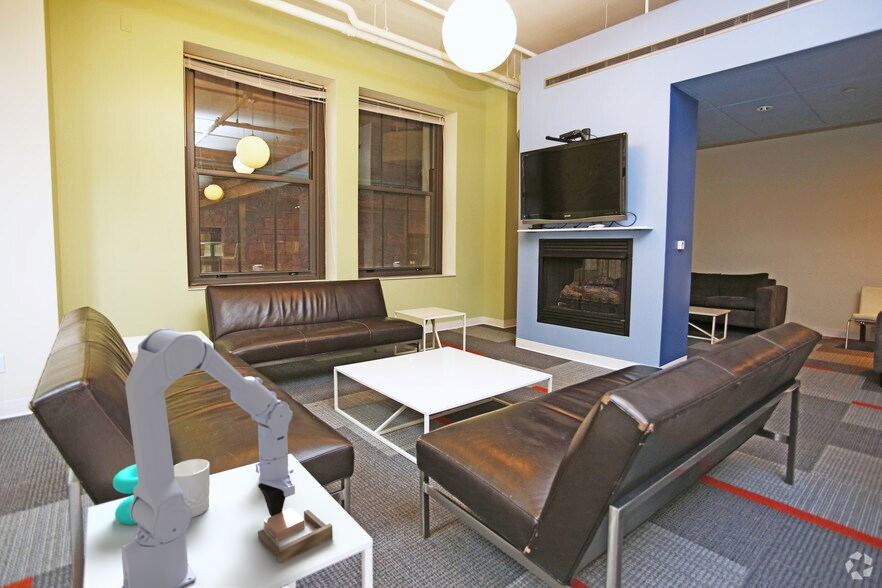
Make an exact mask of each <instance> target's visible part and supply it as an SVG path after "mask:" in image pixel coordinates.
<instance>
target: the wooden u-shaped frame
mask: <svg viewBox="0 0 882 588" xmlns="http://www.w3.org/2000/svg"><path fill="white" fill-rule="evenodd" d="M303 519H304V520H305V521H307V522H308V523H309V524H310V525H311V526H313V527H314V529H315V530H313V531H311V532H309V533H307V534H305V535H302V536H301V537H299V538H296V539H294V540H292V541H290V542H288V543H286V544H284V545H281V546H279V545H278V544H277V543H276V542H275V541H274V540H273V539H272V537H270V535H269V534H268V533H267V532H266V531H265V530H264V529H261V530H258V531H257V539H258V540H259V542H260V543H261V544H262V545H264V547H265V548H266V550H267V551H268V552H270V554H272V556H273V557H274V558H275V559H276V561H277V562H279V564H282V563H284V562H287V561H288V560H290V559H292V558H294V557H296V556H298V555H300V554H303V553H304V552H306V551H308V550H310V549H312V548H314V547H316V546H317V545H320V544H322V543H324V542H326V541H328V540H330V539H332V538H334V536H333V535H334V534H333V533H334V532H333V525H332V524H331V523H328V524H326V523H325V522H324V521H323V520H321V519H320V518H319V517H318V516H316V515H315V514H314V513H313V512H312V511H311V510H309V509H306V510H304V511H303Z"/></svg>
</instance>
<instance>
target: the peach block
mask: <svg viewBox="0 0 882 588" xmlns="http://www.w3.org/2000/svg"><path fill="white" fill-rule="evenodd" d="M305 523H306V521H305V518H304V517H302V516H301V515H299V514H298V513H297V512H296V511H295V510H294V509H292V508H287V509H285V510H284V511H283V510H282V512H281V513H279V514H276V515H274V516H272V517H271V516H270V517H268V518H265V519H263V527H264V528H265V529H266V530H267V531H268V532H269V533H270V534H271V536H272V537H274V538H275V539H276V541H277V540H280V539H282V538H284V537H286V536H288V535H290V534H293V533H295V532H297V531H299V530H301V529H303V528H305V526H306V524H305Z"/></svg>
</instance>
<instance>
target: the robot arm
mask: <svg viewBox="0 0 882 588" xmlns="http://www.w3.org/2000/svg"><path fill="white" fill-rule="evenodd" d="M194 369H196V370H199V371H204V372H205V373H207V374H208V375H210V376H211V377H212V378H214V380H217V382H219V383H220V384H222V385H223V386H225V387H226V388H227V389H228V390H230V399H231V401H232V402H234V403H235V404H236V405H237V406H239V407H240V408H241V409H243V411H245V412H247V413H248V414H249V415H250V417H251V419H252V421H253V422H256V423H257V435H258V436H257V437H258V438H257V439H258V460H259V461H258V462H257V463H255V473H257V474H258V481H259V482H260V483H258V484H257V487H258V488H259V490H260V492H261V494H262V496H263V497H264V501H265V503H266V507H267V510H268V513H269V516H270V517H272V516H274V515H276V514H279V513H281V512H283V508H284V505H285V501H286V498H288V497H291V496H293V495H295V494H296V490H295V489H296V487H295V484H294V483H293V480H292V477H291V474H292V473H294V468H293V467H292V466H289V452H288V451H289V450H288V449H289V448H288V445H289V444H288V432H289V424H290V423H291V421H292V419H293V414H294V411H292V410H291V407H290V405H289V404H288V402H286V401H283V400H281V399H278V398H277V396H278V394H277V393H276V392H275V391H271V390H269V389H268V388H267V387H266V386H264V385H263V382H264V380H263V379H261V378H260V377H257V376H256V377H254V376H243V375H242V374H241V373H240V372H239V371H238V370H237V369H235V368H234V367H233V365H232V364H230V363H229V362H228V361H227V360H226V359H225V358H224V357H223V356H222V355H221V354H220V353H219V352H218V351H217V350H216V349H215V348H214V347H213V346H212V345H210V344H209V343H207V342H205V341H203V340H202V339H201V338H200V337H199V336H197V335H195V334H192V333H184V332H179V331H176V330H174V329H172V328H171V329H170V328H168V327H165V328H164V327H163V328H159V329H155V330H153V331H152V332H151V333H149V334H148V335H147V336H146V337H145V338H144V339H143V340H142V341H141V342H139V344H138V346H137V356H136V357H135V360H134V362H133V364H132V367H131V369H130V371H129V374H128V376H127V379H126V381H125V395H126V401H127V407H128V416H129V417H128V418H129V424H130V431H131V436H132V444H133V445H132V446H133V452H134V458H135V464H136V468H137V475H138V482H139V484H138V485H137V486H136V487H134V489H133V493H132V494H133V495H134V498H133V502H132V504H131V507H130V517H131V519H132V520H133V521H134V522H136V523H137V524H136V525H138V529H137V533H136V537H135V538H134V539H133V540H131V541H130V542H128V543H126V544H124V545H123V546H121V562H122V573H123V574H122V576H123V580H122V582H123V584H122V585H123V588H181V587H184V586H185V585H188V584H190V583H192V582H195V580H197V576H196V573H194V571H193V569H192V567H191V566H190V564H189V562H188V561H189V560H188V559H189V558H188V547H187V544H188V543H187V529H188V527H189V525H190V523H191V520H192V518H191V516H192V513H191V509H190V507H189V506H188V505H187V504H186V503H185V501H184V497H183V492H182V490H181V488H180V487H179V485H178V483H177V481H176V479H175V474H174V460H173V451H172V443H171V434H170V429H169V428H170V427H169V419H168V412H167V403H166V396H165V393H166V390H167V389H168V388H169V387H170V386H171V385H172V384H173V383H175V382H176V381H177V380H179V379H181V378H183V376H185V375H187V374H189V373H190V372H192V371H193V370H194Z"/></svg>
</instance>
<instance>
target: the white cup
mask: <svg viewBox="0 0 882 588" xmlns="http://www.w3.org/2000/svg"><path fill="white" fill-rule="evenodd" d="M173 466H174V474H175V479H176V481H177V483H178V485H179V487H180V488H181V490H182V492H183V497H184V501H185V503H186V504H187V505H188V506H189V507H190V509H191V513H192V516H191V519H192V518H195V517H198V516H199V515H202V514H204V513H205V512H206V511H207V510H208V508H209V507H210V498H209V496H210V482H211V481H210V461H208V460H206V459H202V458H194V459H187V460H183V461H181V462H178V463H177V464H175V465H174V464H173Z"/></svg>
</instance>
